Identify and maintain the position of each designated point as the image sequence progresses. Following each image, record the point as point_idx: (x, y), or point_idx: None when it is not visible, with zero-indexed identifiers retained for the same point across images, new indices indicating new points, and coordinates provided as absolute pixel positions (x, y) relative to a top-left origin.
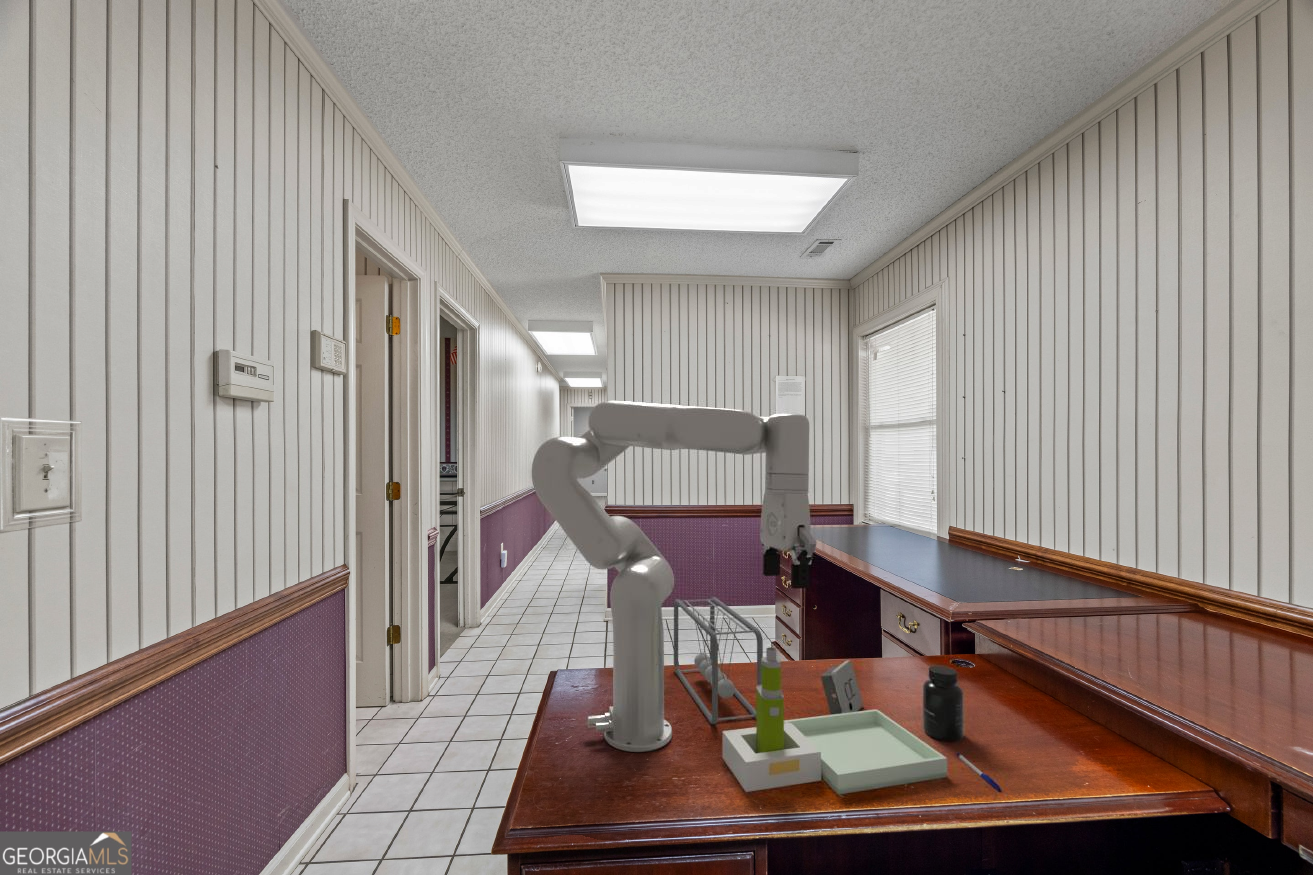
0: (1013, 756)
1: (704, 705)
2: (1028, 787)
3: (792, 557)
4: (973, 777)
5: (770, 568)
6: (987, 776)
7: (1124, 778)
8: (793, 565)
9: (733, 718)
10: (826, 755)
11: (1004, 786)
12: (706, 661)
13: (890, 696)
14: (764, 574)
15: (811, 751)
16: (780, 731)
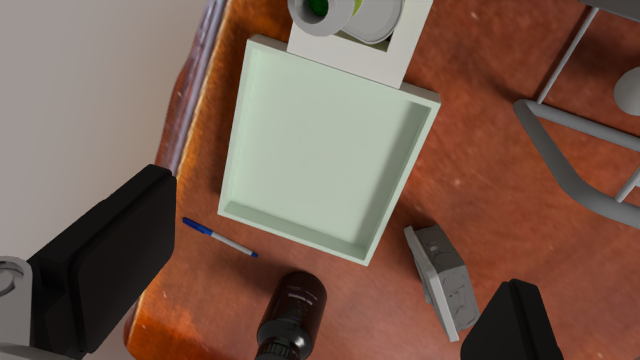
0: (228, 296)
1: None
2: (178, 247)
3: (16, 315)
4: (214, 222)
5: (496, 341)
6: (201, 231)
7: (158, 326)
8: (43, 253)
9: (565, 54)
10: (336, 100)
11: (188, 231)
12: None
13: (419, 337)
14: (516, 279)
15: (294, 35)
16: None
